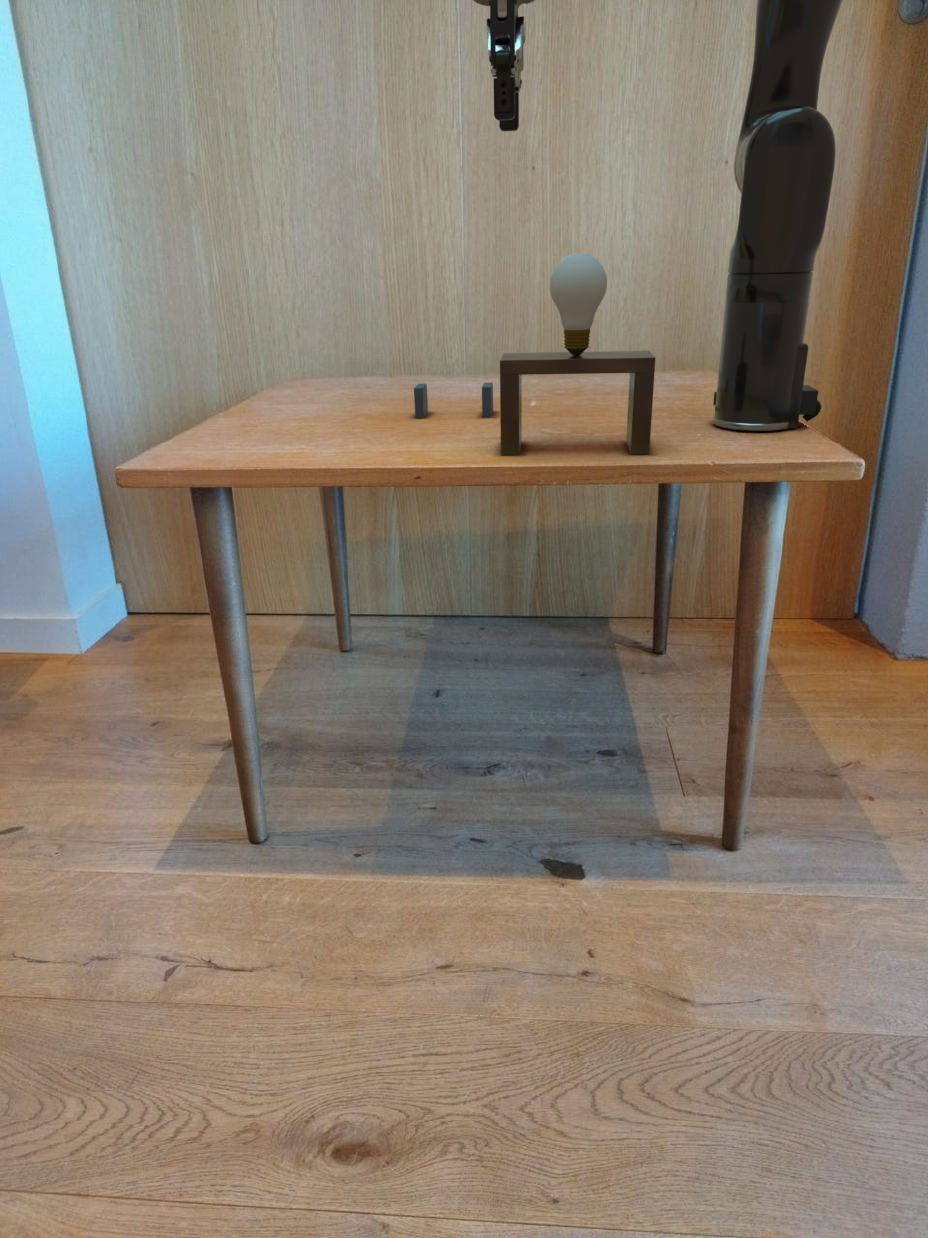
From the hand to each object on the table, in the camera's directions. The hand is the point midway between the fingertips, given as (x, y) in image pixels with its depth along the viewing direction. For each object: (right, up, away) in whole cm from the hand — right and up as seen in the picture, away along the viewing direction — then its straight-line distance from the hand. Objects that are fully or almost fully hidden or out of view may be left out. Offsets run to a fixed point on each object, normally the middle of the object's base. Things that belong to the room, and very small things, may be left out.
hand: (507, 125), depth 90 cm
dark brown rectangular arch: (+8, -35, +1) cm, 36 cm away
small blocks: (-6, -26, +23) cm, 35 cm away
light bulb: (+7, -26, -3) cm, 28 cm away
